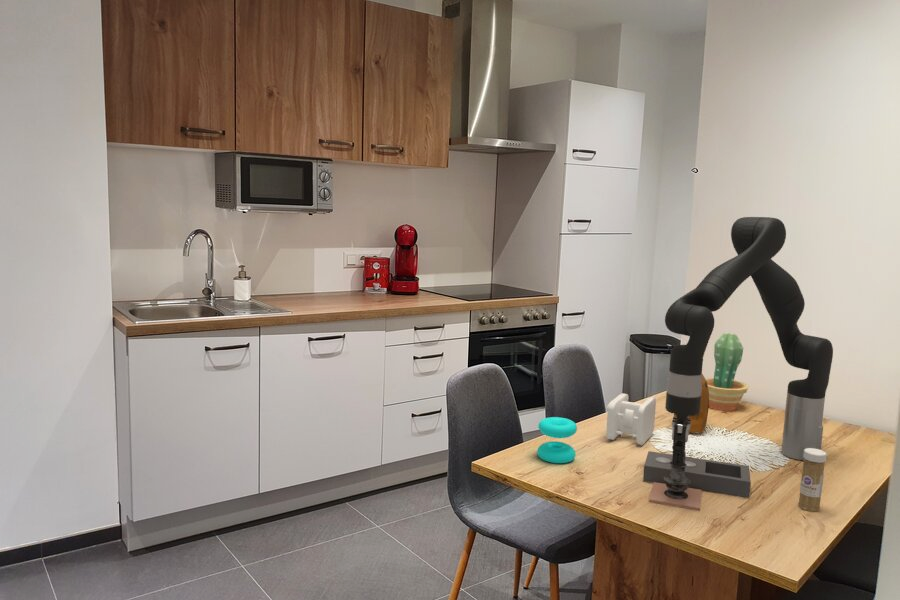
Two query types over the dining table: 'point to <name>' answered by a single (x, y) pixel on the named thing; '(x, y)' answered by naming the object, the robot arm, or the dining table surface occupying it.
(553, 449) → the donuts
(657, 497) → the tile pad
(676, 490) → the dark chess piece
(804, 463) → the sprinkles bottle
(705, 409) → the coffee package
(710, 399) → the potted cactus
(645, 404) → the cable organizer
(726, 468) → the socket strip
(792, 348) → the robot arm
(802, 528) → the dining table surface
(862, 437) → the dining table surface
